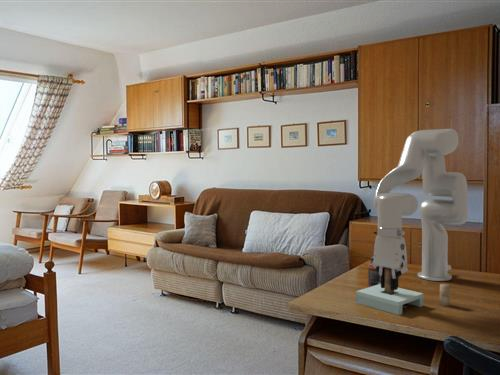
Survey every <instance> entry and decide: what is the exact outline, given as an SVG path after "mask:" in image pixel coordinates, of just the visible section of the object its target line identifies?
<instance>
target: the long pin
mask: <svg viewBox="0 0 500 375" xmlns="http://www.w3.org/2000/svg"><path fill="white" fill-rule="evenodd" d="M391 278H392V269H391V268H386V267H385V283H384V293H385V294H389V295H393V294H394V290H393V291H392V290H391Z"/></svg>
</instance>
